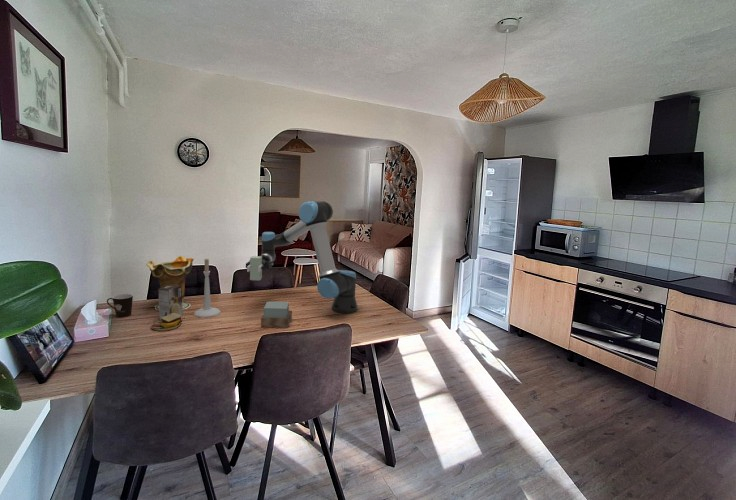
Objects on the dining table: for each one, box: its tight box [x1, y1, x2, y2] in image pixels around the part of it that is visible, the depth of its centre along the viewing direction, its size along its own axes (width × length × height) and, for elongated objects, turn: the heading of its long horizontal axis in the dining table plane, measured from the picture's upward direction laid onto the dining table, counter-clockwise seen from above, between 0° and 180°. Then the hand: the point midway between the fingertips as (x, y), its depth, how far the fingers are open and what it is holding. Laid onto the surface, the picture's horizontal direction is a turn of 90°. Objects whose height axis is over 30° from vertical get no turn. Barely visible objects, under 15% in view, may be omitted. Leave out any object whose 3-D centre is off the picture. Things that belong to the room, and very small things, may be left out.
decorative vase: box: [146, 255, 194, 311], centre depth 197 cm, size 21×23×28 cm
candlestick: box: [193, 258, 221, 318], centre depth 190 cm, size 13×13×30 cm
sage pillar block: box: [249, 255, 263, 281], centre depth 192 cm, size 5×5×12 cm
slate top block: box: [262, 301, 290, 318], centre depth 183 cm, size 11×11×5 cm
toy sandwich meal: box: [150, 313, 183, 332], centre depth 172 cm, size 12×14×5 cm
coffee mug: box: [106, 293, 134, 319], centre depth 183 cm, size 12×9×10 cm
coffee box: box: [157, 285, 184, 320], centre depth 182 cm, size 9×6×16 cm
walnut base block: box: [260, 310, 293, 329], centre depth 184 cm, size 13×13×5 cm
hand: (253, 269), depth 186 cm, fingers closed on sage pillar block, 5 cm apart
